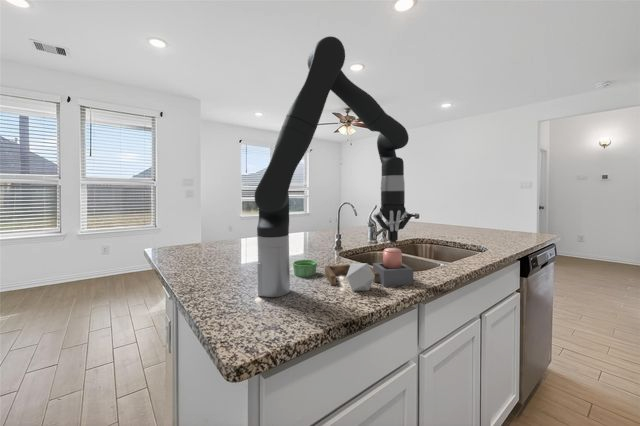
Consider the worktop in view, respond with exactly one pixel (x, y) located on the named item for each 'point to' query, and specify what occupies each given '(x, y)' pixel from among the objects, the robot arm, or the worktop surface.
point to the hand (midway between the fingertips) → (392, 242)
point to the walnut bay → (343, 269)
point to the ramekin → (304, 268)
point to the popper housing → (394, 275)
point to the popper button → (392, 258)
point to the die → (360, 277)
